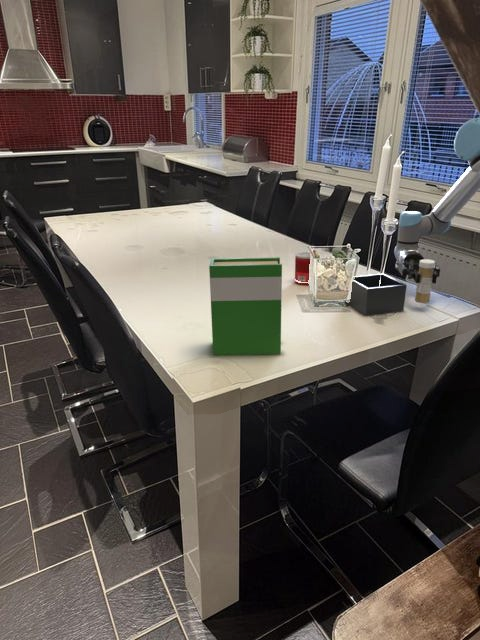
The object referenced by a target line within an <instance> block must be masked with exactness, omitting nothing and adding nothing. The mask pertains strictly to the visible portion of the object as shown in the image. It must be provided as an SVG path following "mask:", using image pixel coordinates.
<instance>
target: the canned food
mask: <svg viewBox="0 0 480 640" xmlns="http://www.w3.org/2000/svg"><path fill="white" fill-rule="evenodd" d="M310 253H311V252H305V251H304V252H298V253H296V254H295V256H294V257H295V259H294V282H295V284H297V285H299V286H300V285H301V286H309V285H308V283H298V282H296V281H295V279H296V280H298V281H301V282H308V280H309V264H310Z"/></svg>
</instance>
